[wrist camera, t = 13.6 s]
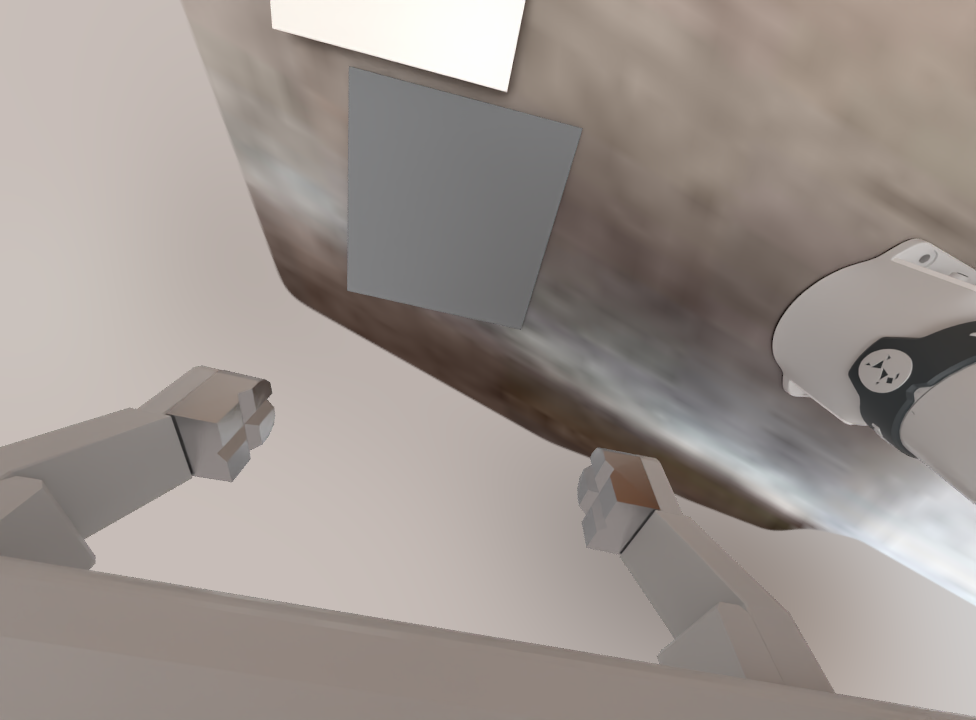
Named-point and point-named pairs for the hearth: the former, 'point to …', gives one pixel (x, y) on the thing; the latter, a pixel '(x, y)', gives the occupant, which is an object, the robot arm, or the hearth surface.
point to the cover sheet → (415, 32)
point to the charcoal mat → (450, 198)
